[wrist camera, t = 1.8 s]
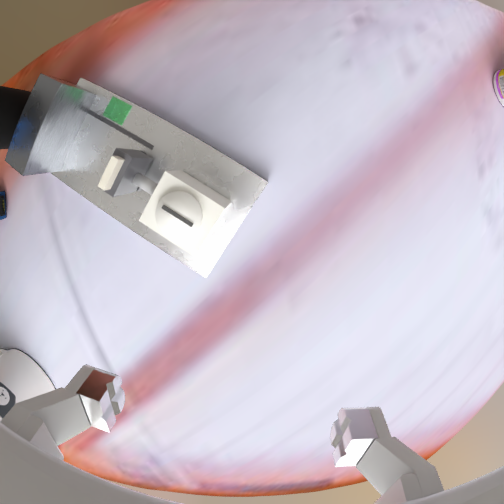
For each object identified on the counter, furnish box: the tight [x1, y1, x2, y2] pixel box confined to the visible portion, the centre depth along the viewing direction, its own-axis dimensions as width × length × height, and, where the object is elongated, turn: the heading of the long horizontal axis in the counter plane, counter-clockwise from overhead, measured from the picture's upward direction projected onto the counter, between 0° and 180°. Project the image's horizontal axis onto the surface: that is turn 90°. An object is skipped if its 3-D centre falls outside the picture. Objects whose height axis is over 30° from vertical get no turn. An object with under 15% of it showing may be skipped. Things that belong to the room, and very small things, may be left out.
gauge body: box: [133, 170, 232, 257], centre depth 26 cm, size 9×5×6 cm, turn 57°
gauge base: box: [5, 74, 268, 278], centre depth 25 cm, size 26×12×8 cm, turn 57°
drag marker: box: [98, 148, 153, 197], centre depth 25 cm, size 2×4×6 cm, turn 147°
